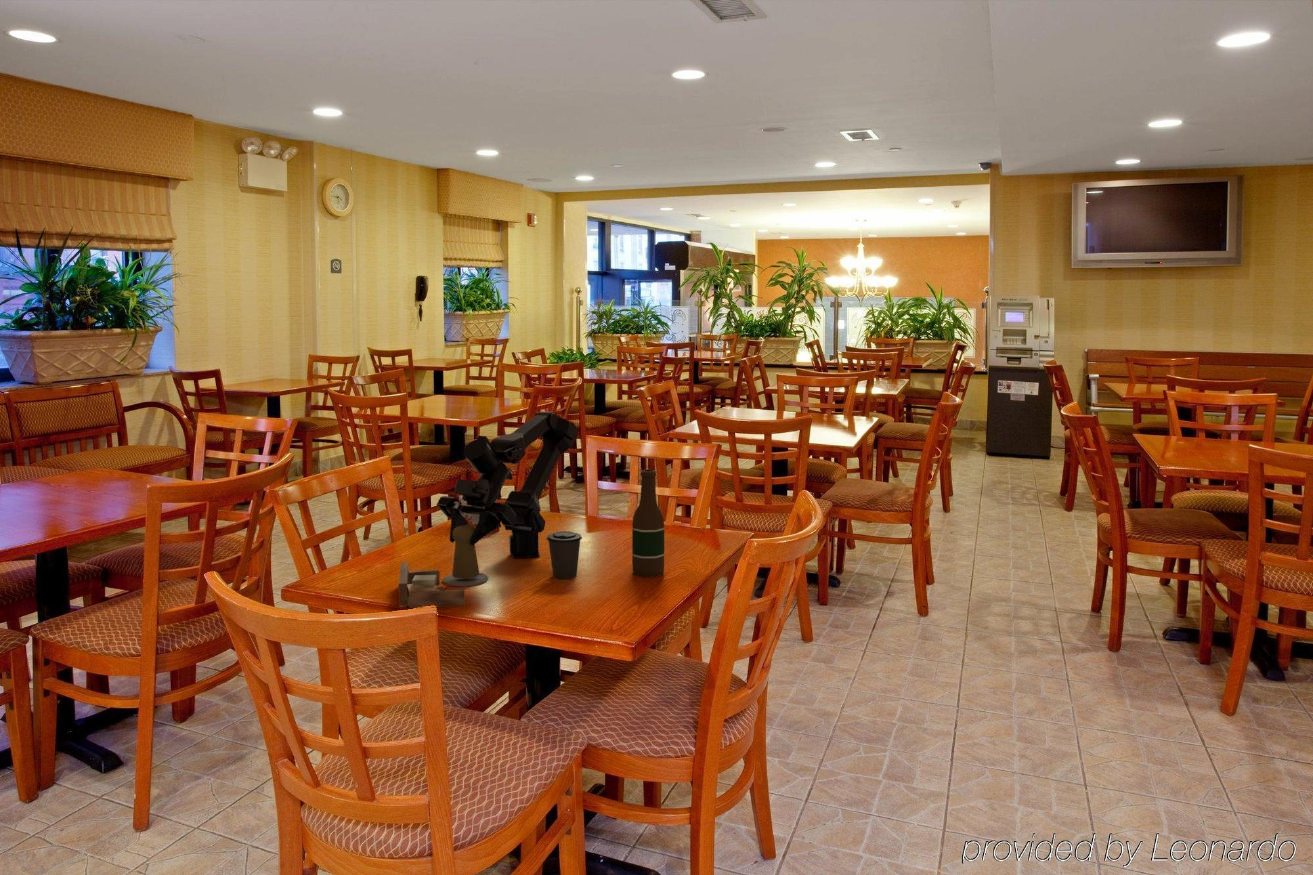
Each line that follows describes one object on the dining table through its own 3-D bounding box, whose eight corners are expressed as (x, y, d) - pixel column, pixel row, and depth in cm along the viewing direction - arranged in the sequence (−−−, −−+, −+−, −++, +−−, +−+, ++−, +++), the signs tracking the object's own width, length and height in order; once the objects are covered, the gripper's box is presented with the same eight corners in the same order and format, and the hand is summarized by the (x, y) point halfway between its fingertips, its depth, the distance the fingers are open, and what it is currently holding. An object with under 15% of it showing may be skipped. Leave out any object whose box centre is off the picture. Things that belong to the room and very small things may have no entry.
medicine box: (459, 522, 270) (458, 494, 269) (487, 520, 273) (486, 492, 272) (471, 534, 256) (470, 505, 255) (500, 531, 259) (500, 503, 258)
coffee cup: (554, 582, 213) (554, 538, 211) (541, 573, 220) (541, 531, 218) (588, 578, 216) (588, 534, 215) (574, 569, 224) (574, 527, 222)
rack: (461, 580, 214) (461, 558, 213) (464, 605, 197) (464, 580, 196) (401, 584, 211) (400, 561, 210) (399, 609, 194) (398, 584, 193)
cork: (453, 570, 217) (452, 523, 215) (480, 569, 218) (479, 522, 216) (450, 578, 211) (448, 530, 209) (478, 577, 212) (476, 529, 210)
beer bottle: (669, 570, 223) (670, 468, 219) (658, 579, 216) (658, 474, 212) (638, 566, 225) (638, 466, 222) (626, 575, 218) (626, 472, 215)
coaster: (486, 572, 220) (486, 570, 220) (489, 585, 211) (489, 583, 211) (442, 575, 218) (442, 573, 218) (442, 588, 208) (442, 586, 208)
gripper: (440, 461, 218) (409, 519, 210) (507, 468, 210) (478, 528, 202) (463, 488, 226) (434, 545, 218) (528, 496, 218) (501, 555, 210)
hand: (460, 542), depth 212 cm, fingers closed on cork, 5 cm apart
